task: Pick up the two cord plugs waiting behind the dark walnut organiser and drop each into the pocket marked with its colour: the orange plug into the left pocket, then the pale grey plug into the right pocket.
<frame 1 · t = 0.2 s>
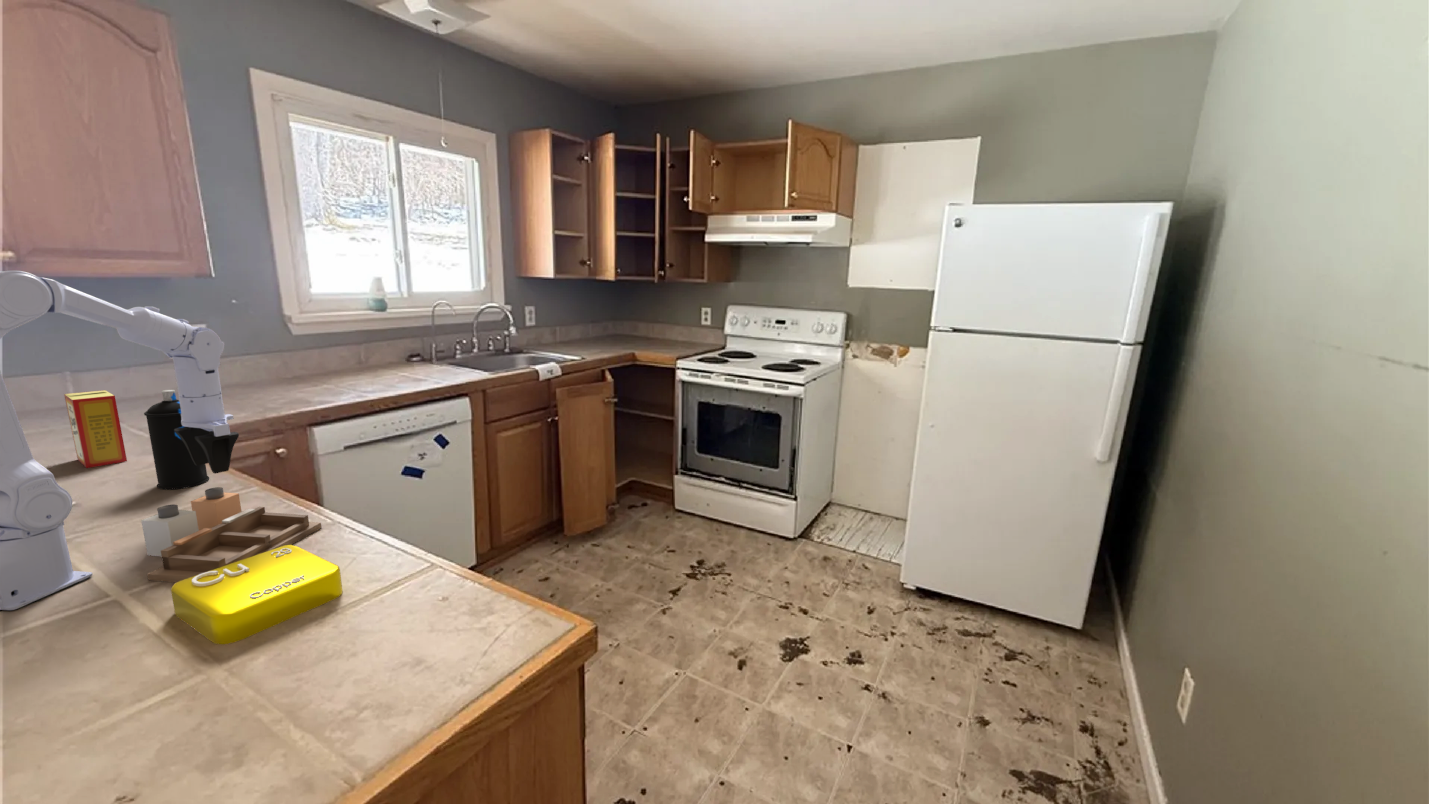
hand: (211, 467, 104), 9 cm above the counter, tool pointing down, fingers open, 7 cm apart
grey plug: (174, 549, 93), on the counter
aerosol can: (184, 483, 121), on the counter
element tile: (263, 605, 80), on the counter
orange plug: (220, 529, 101), on the counter
baking soda box: (102, 461, 133), on the counter
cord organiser: (243, 551, 93), on the counter
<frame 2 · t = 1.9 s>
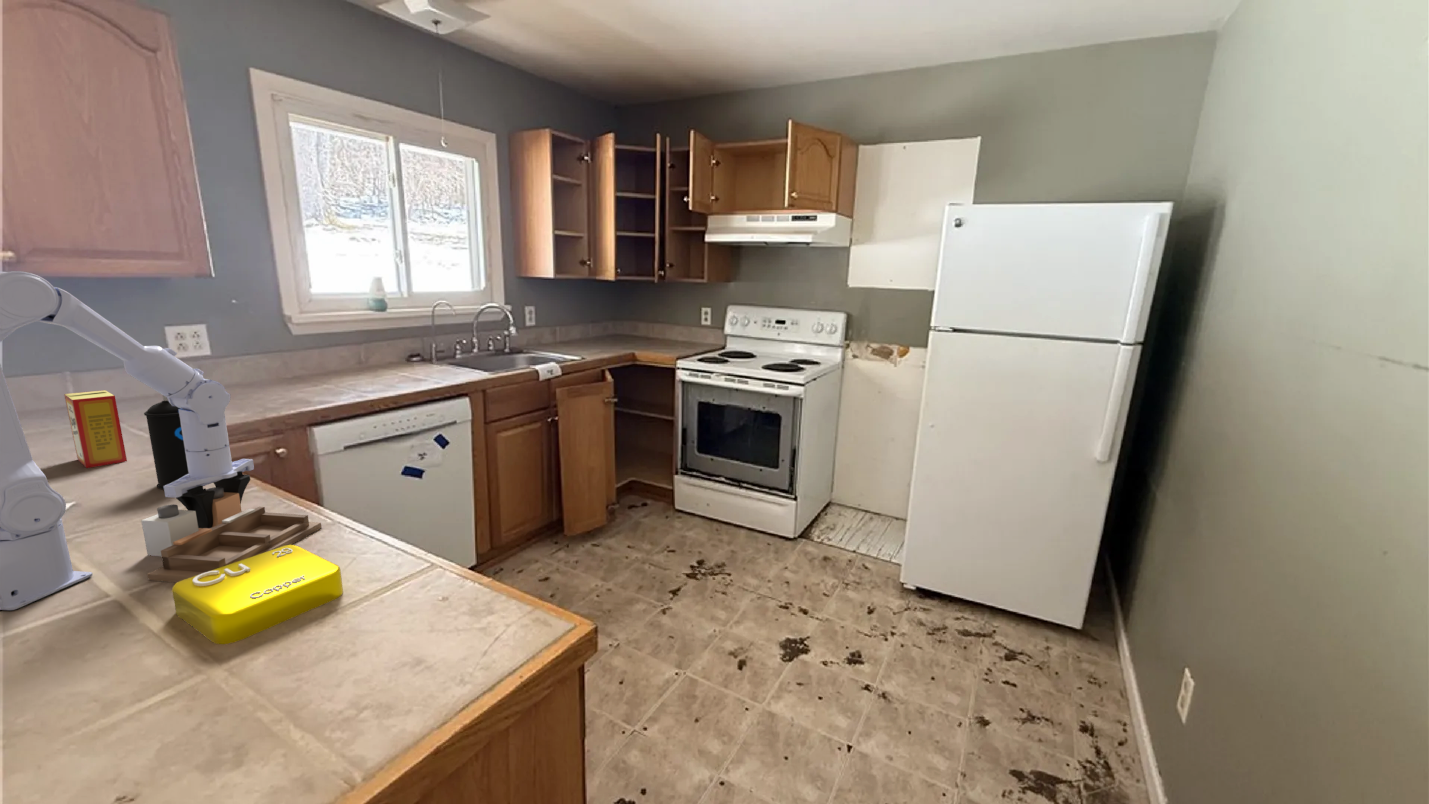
hand: (219, 521, 100), 1 cm above the counter, tool pointing down, fingers closed on orange plug, 4 cm apart
orange plug: (220, 528, 101), on the counter, touching gripper
everything else where it was.
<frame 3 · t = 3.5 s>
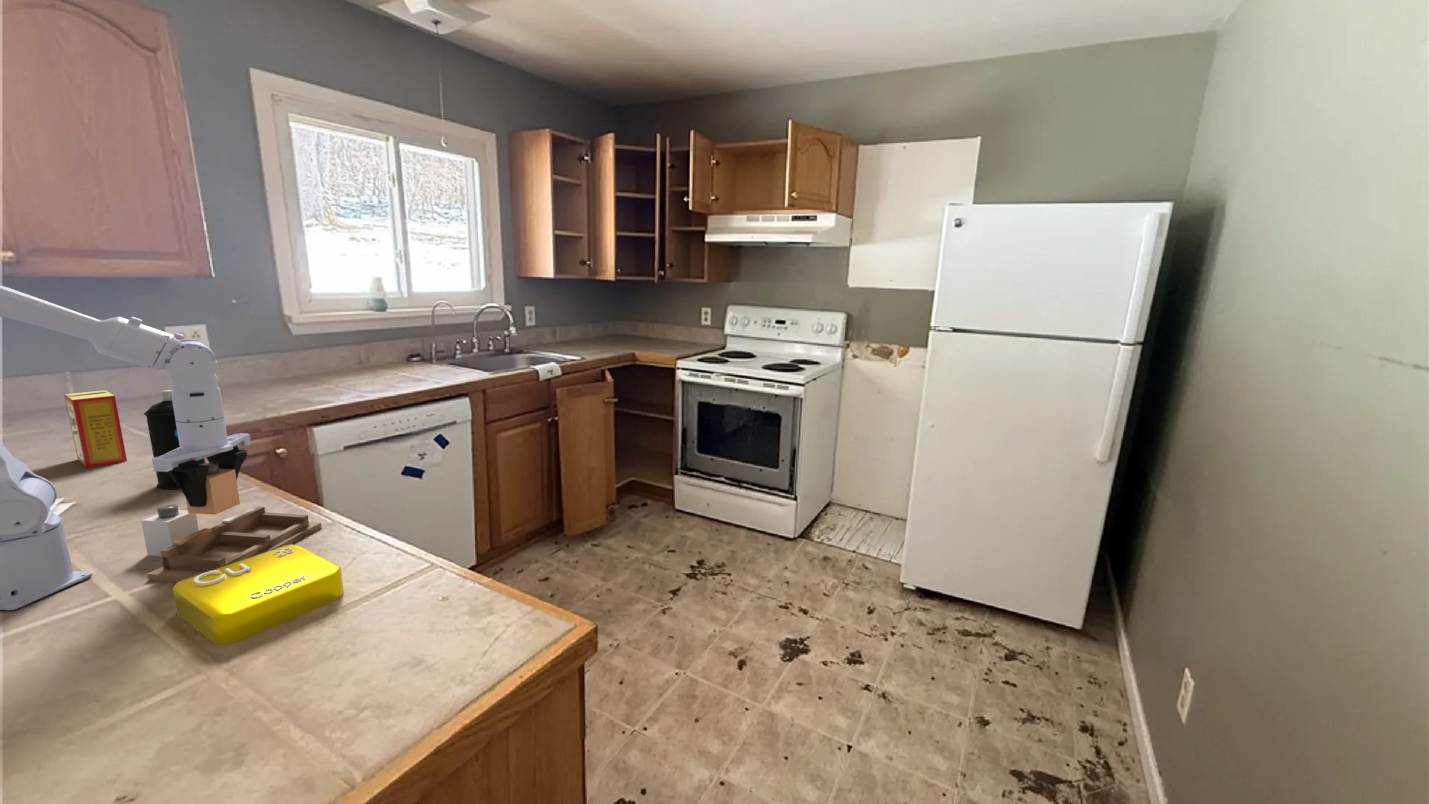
hand: (213, 500, 92), 8 cm above the counter, tool pointing down, fingers closed on orange plug, 4 cm apart
orange plug: (214, 508, 93), point 7 cm above the counter, touching gripper
everything else where it was.
when the fingers open (4 cm above the counter, at t = 5.2 s): orange plug drops 1 cm, resting on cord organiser.
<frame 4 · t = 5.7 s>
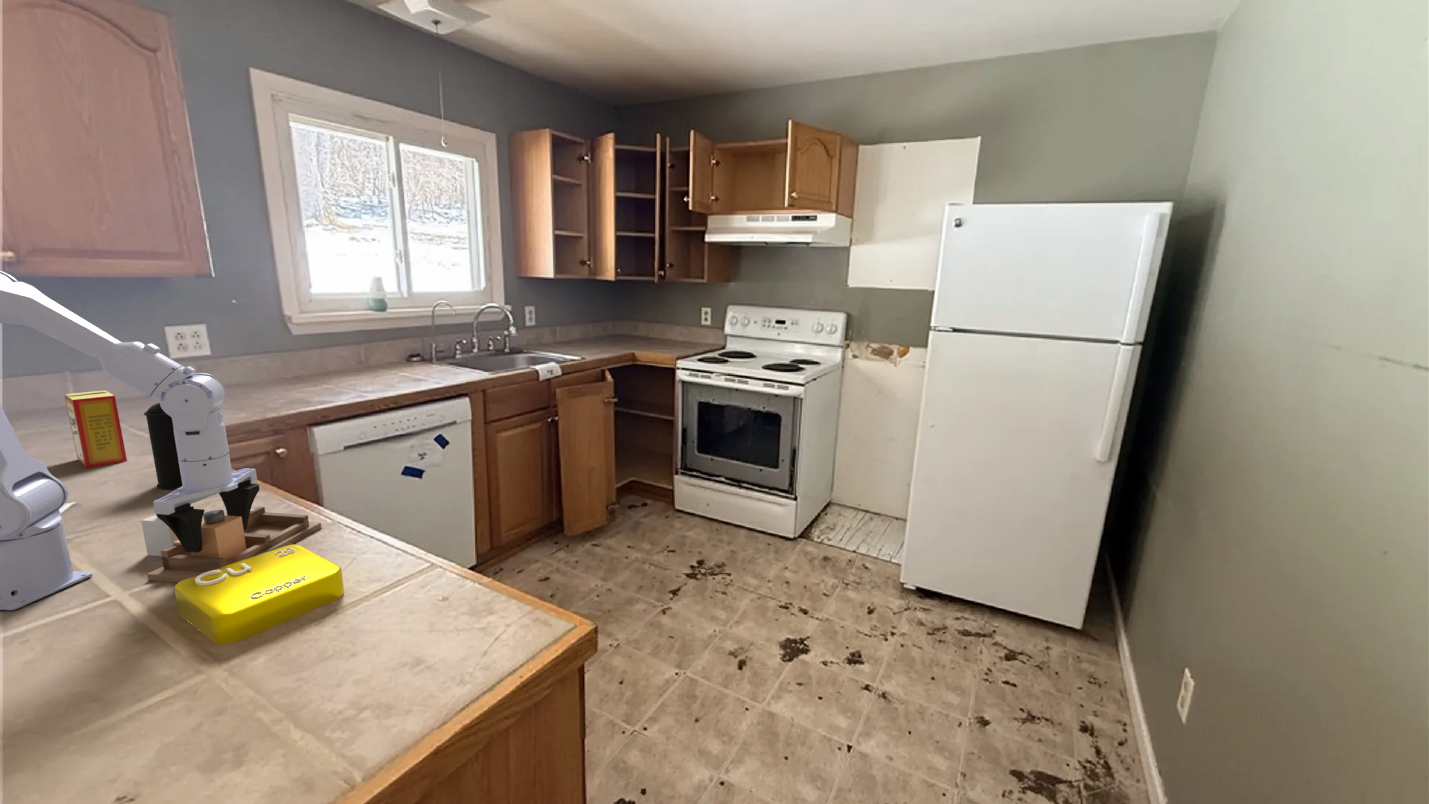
hand: (217, 539, 88), 4 cm above the counter, tool pointing down, fingers open, 7 cm apart
orange plug: (220, 557, 89), point 1 cm above the counter, touching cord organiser
everything else where it was.
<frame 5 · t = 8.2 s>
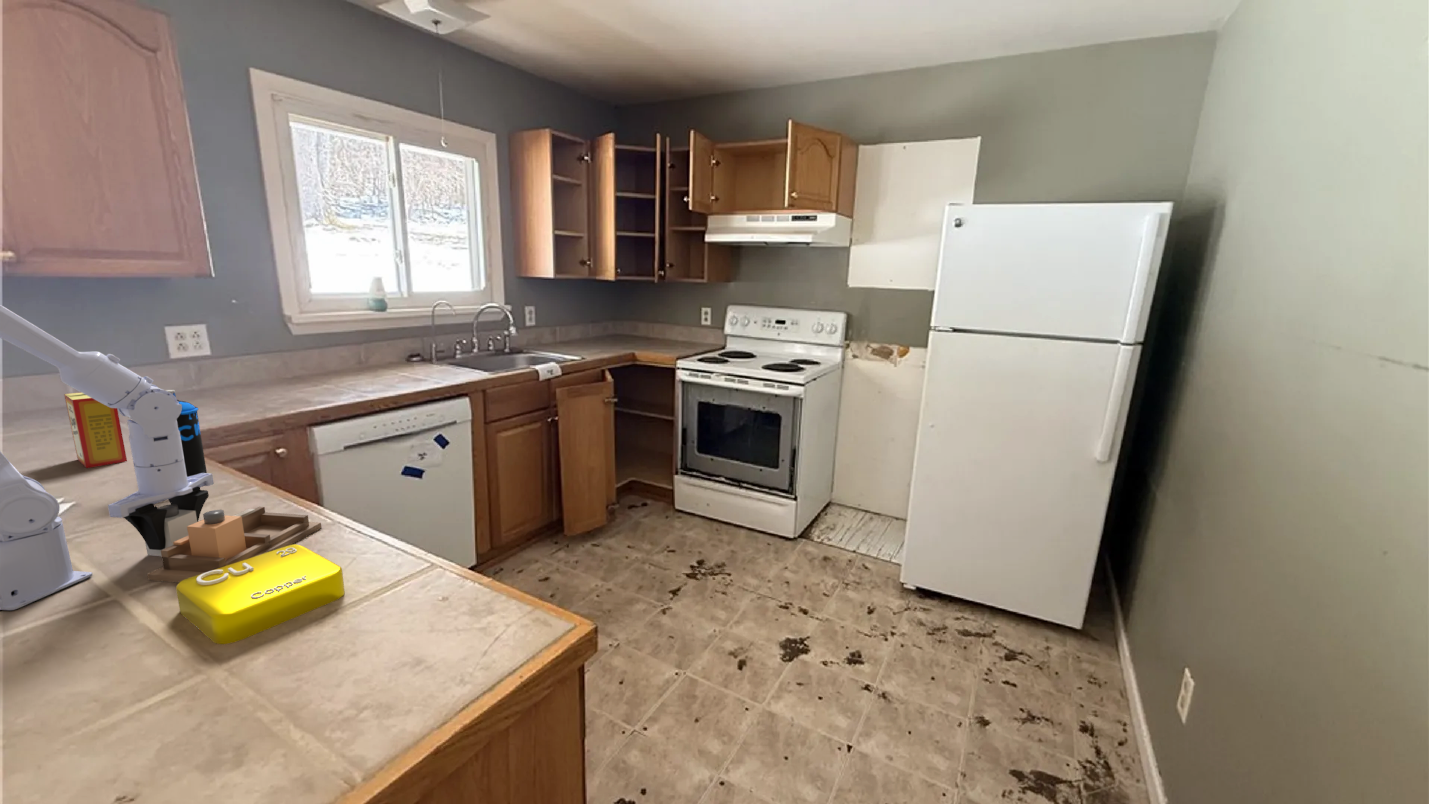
hand: (173, 541, 93), 1 cm above the counter, tool pointing down, fingers closed on grey plug, 4 cm apart
grey plug: (174, 549, 93), on the counter, touching gripper
everything else where it was.
when the fingers open (4 cm above the counter, at t = 11.5 s): grey plug drops 1 cm, resting on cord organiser.
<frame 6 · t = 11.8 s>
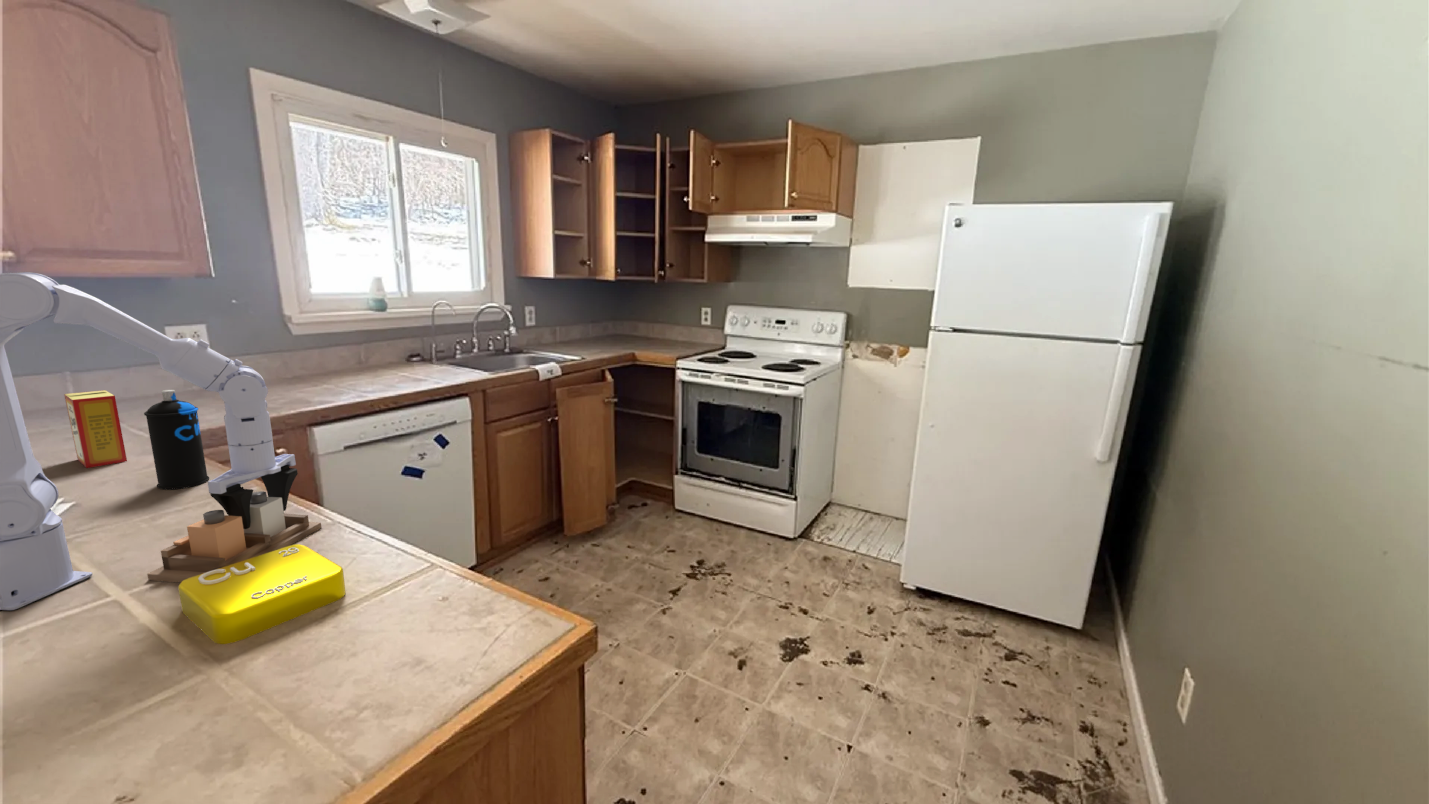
hand: (261, 519, 96), 4 cm above the counter, tool pointing down, fingers open, 7 cm apart
grey plug: (262, 535, 97), point 1 cm above the counter, touching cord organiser
everything else where it was.
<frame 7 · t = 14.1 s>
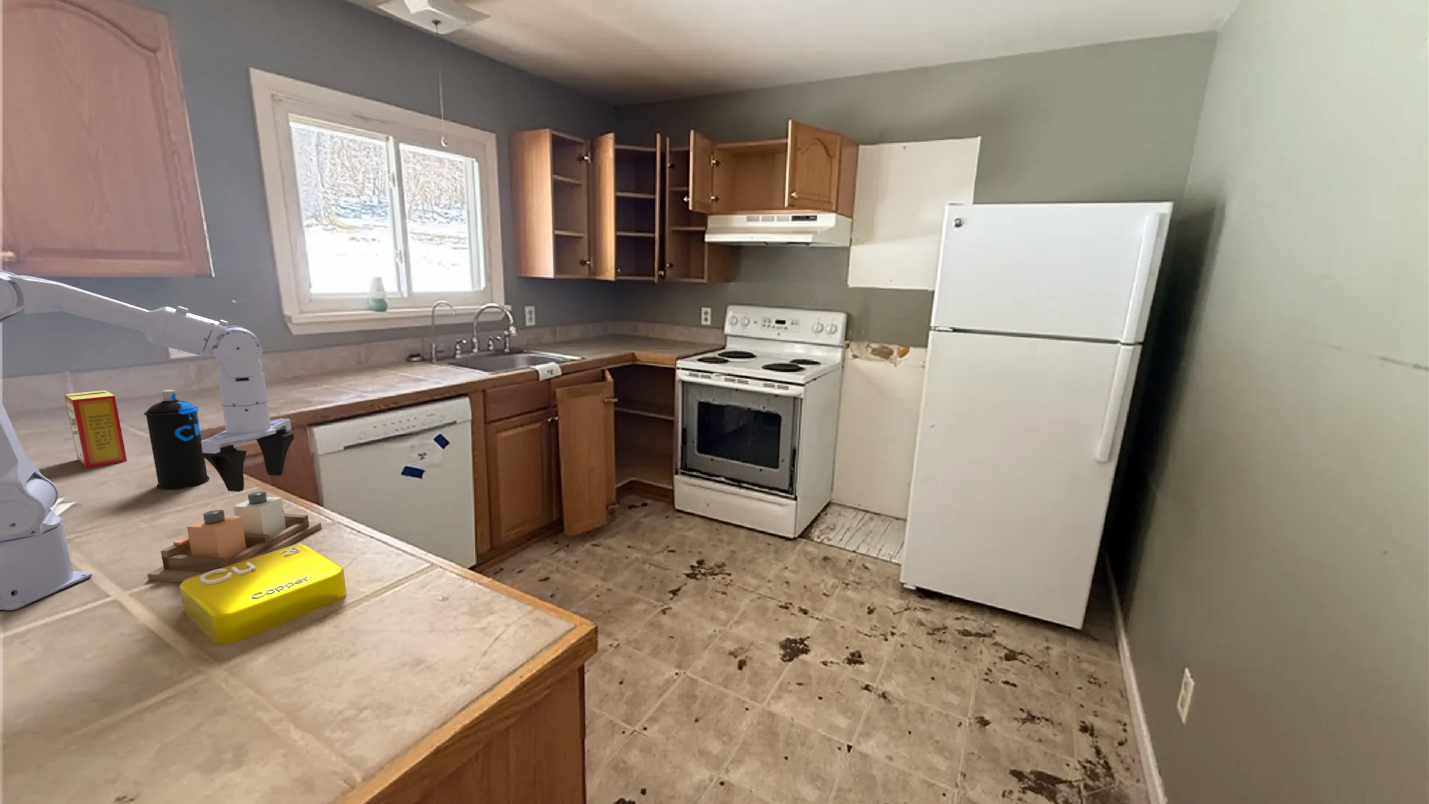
hand: (256, 482, 95), 10 cm above the counter, tool pointing down, fingers open, 7 cm apart
nothing on the counter moved.
at the end: orange plug 0.1 cm from the target spot on the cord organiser, point 1.0 cm above the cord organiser's base; grey plug 0.1 cm from the target spot on the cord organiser, point 1.0 cm above the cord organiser's base; grey plug tilted 0° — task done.
